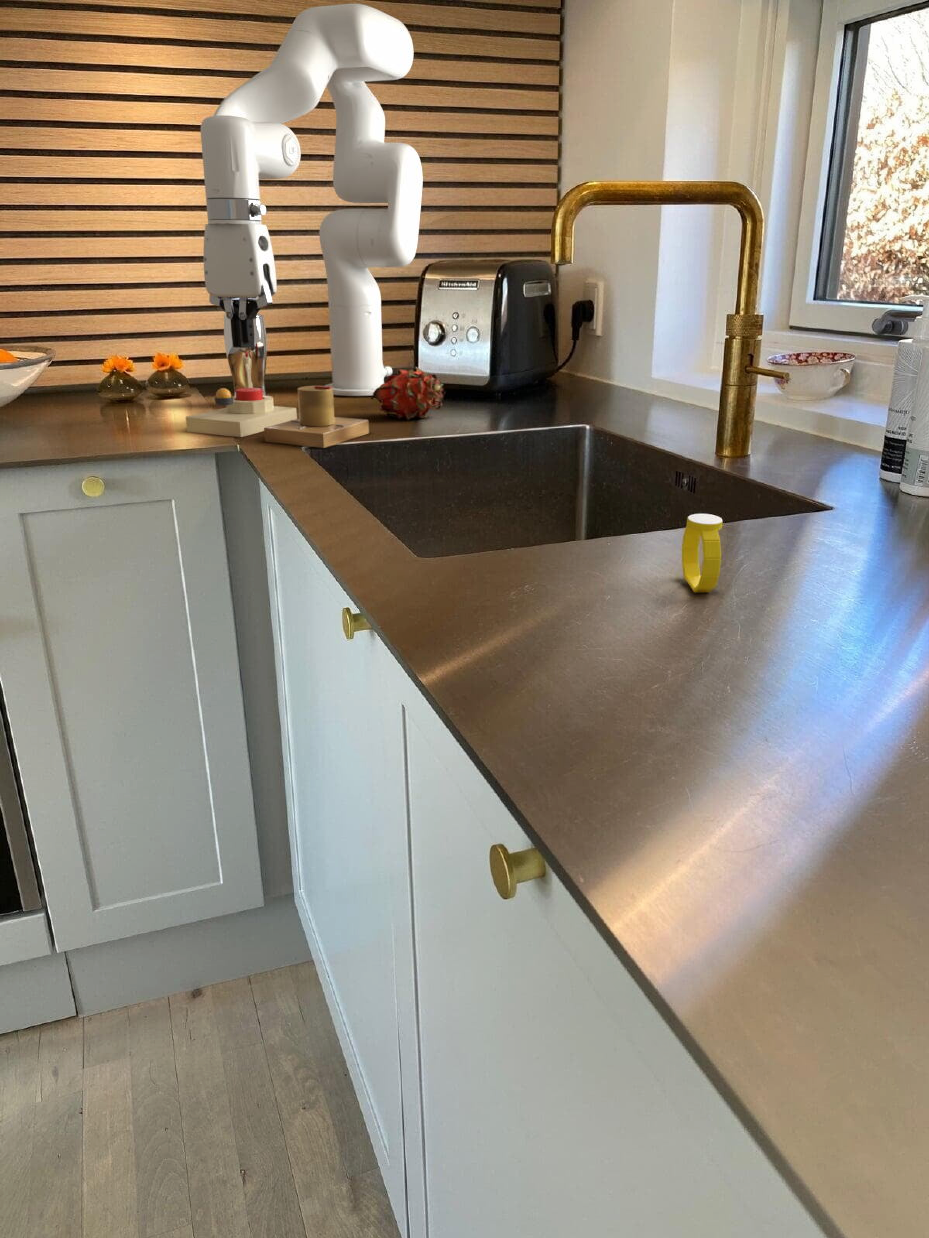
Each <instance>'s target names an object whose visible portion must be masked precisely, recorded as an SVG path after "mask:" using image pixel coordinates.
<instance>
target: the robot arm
mask: <svg viewBox="0 0 929 1238" xmlns="http://www.w3.org/2000/svg"><path fill="white" fill-rule="evenodd" d="M413 43H414V42H413V39H412V36H411V34H410V31H409V30H408V28H407V27H406V25H404V23H403V22H402V21H400V20H399V19H398V18H395V17H394V16H391V15H390V14H387V13H385V12H384V11H382V10H379V9H377V8H375V7H372V6H369V5H366V4H363V3H355V2H354V3H344V4H333V5H322V6H321V5H320V6H313V7H309V8H306V9H304V10H303V11H301V12H299V14H298V15H297V16H296V17H295V19H294V20H293V22H292V24H291V26H290V28H289V30H288V31H287V33H286V35H285V37H284V39H283V41H282V43H281V44H280V46H279V48H278V49H277V52H276V53H275V55H274V57H273V59H272V61H271V62H270V64H269V66H268V67H266V68H265V69H263V70H261V71H260V72H258V73H256V74H255V75H254V76H252V77H251V78H250V79H248V80H247V81H245V82H244V83H243V84H241V85H239V86H238V87H237V88H236V89H234V90H232V92H230V93H229V94H228V95H227V96H226V97H225V98H224V99H223V100H222V101H221V102H220V104H219V105H218V107H217V108H216V110H215V112H214V113H213V115H209V116H207V117H205V118H204V119H203V120H202V121H201V124H200V142H201V151H202V152H201V154H202V166H203V179H204V189H205V200H206V214H207V223H206V224H205V226H204V234H203V235H204V236H203V276H204V285H205V289H206V292H207V293H208V294H209V297H208V298H209V303H210V305H213V306H217V307H220V308H221V309H222V311H223V312H224V313H225V315H226V317H227V318H228V319H230V320H231V333H232V343H233V347H236V348H238V347H239V348H247V347H254V345H255V343H254V338H255V337H254V322H253V319H256V317H257V314H259V312H260V310H262V309H264V308H268V307H270V306H272V305H273V298H272V297H273V296H274V295H276V293H277V291H278V290H277V287H278V285H277V273H276V263H275V256H274V250H273V246H272V245H273V244H272V241H271V236H270V233H269V230H268V227H267V225H266V224H262V216H265V215H266V214H267V207H266V206H265V204H261V193H260V180H279V179H281V180H282V179H284V178H287V177H290V176H291V175H293V174H294V173H295V172H296V170H297V169H298V168H299V166H300V163H301V156H302V150H301V145H300V141H299V139H298V137H297V136H296V134H295V133H294V131H292V130H291V128H289V126H286V125H285V123H288V122H290V121H291V122H292V121H293V120H296V119H298V118H300V117H303V116H305V115H307V114H308V113H310V112H311V111H312V110H314V109H315V108H316V107H317V106H318V104H319V102H320V100H321V98H322V96H323V93H324V92H325V89H326V88H327V91H328V92H329V96H330V97H331V99H332V102H333V106H334V110H335V116H336V119H335V120H336V121H335V139H334V140H335V141H334V156H333V167H332V168H333V169H332V172H333V174H332V185H333V189H334V192H335V195H337V197H338V198H339V199H341V200H342V201H344V202H347V203H353V204H387V208H343V209H337V210H333V211H331V212H330V213H328V214H327V215H326V216H325V217H324V218H323V219H322V221H321V223H320V226H319V231H318V232H319V233H318V234H319V235H318V236H319V243H320V244H319V245H320V248H321V253H322V257H323V262H324V268H325V273H326V274H325V275H326V284H327V296H328V297H327V298H328V299H327V300H328V319H329V321H328V323H329V341H330V359H331V362H330V363H331V379H332V380H331V381H332V382H331V383H327V384H325V385H324V386H329V387H332V388H333V396H339V397H371V396H372V395H373V392H374V391H375V390H376V389H377V388H379V387H380V386H381V385H382V384H384V383H385V378H388V377H389V376H393V369H392V367H391V366H389V365H386V366H384V362H383V332H382V331H383V330H382V329H383V328H382V295H381V290H380V288H379V287H380V286H379V285H378V282H377V281H376V280H375V278H374V276H373V275H372V272H371V271H370V270H369V268H402V267H407V266H409V265H410V264H411V263H412V262H413V261H414V258H415V256H416V253H417V250H418V241H419V234H420V233H419V232H420V221H421V220H420V219H421V210H422V208H421V207H422V198H423V197H422V196H423V182H424V180H423V178H424V176H423V175H424V174H423V167H422V162H421V159H420V156H419V154H418V152H417V150H416V149H415V148H414V147H413V146H412V145H410V144H409V143H405V142H385V137H386V136H385V135H386V134H385V133H386V116H385V112H384V110H383V107H382V106H381V103H380V102H379V100H378V99H377V98H376V96H375V95H374V94H373V92H372V90H371V89H370V88H369V86H368V85H367V84H366V82H382V81H395V80H399V79H402V78H404V77H405V76H407V74H409V72H410V70H411V68H412V65H413V63H414V62H413V61H414V55H415V54H414V44H413Z"/></svg>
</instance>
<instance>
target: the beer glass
mask: <svg viewBox="0 0 929 1238" xmlns="http://www.w3.org/2000/svg"><path fill="white" fill-rule="evenodd" d="M253 322H254V337H255V338H254V343H255V345H254V347H247V348H239V347H238V348H236V347H233V343H232V333H231V320H230V319H228V318H227V317H226V314H224V315H223V339H224V341H223V342H224V347H225V348H224V349H225V353H226V354H225V355H226V359H227V363H228V367H229V370H230V374H231V377H232V384H233V397H234V396H236V389H240V388H261V389H262V392H263V395H264V396H268V394H267V390H266V370H267V360H268V359H267V358H268V338H267V337H268V336H267V329H266V322H265V315H264V313H257V317H256V319H253Z"/></svg>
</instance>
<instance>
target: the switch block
mask: <svg viewBox="0 0 929 1238" xmlns="http://www.w3.org/2000/svg"><path fill="white" fill-rule="evenodd" d="M232 397H233V404H232V405H226V407H223V408H219V409H214V410H210V411H209V410H208V411H206V412H205V411H204V412H202V413H197V414H192V415H188V416H185V423H186V431H187V432H189V433H190V432H191V433H198V434H207V435H216V436H225V437H233V438H234V437H235V438H243V437H247V436H251V435H254V434H258V433H262V432H264V428H265V427H269V426H273V425H276V424H280V423H284V422H288V421H290V420H295V419H298V413H297V407H292V406H291V407H289V406H278V405H274V404H275V403H274V397H273V396H270V395H267V396H264V395H263V399H262V400H255V401H239V400H236V396H234V395H233V396H232Z"/></svg>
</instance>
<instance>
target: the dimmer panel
mask: <svg viewBox="0 0 929 1238" xmlns="http://www.w3.org/2000/svg"><path fill="white" fill-rule="evenodd" d="M334 417H335V423H334V424H332V425H328V426H304V425H301V424H300V418H297V419H295V420H290V421H288V422H284V423H280V424H276V425H273V426H269V427H265V428H264V431H263V432H264V434H263V435H264V442H266V443H273V444H274V443H275V444H283V445H290V446H291V445H292V446H293V445H294V446H300V447H301V446H303V447H311V448H319V449H325V448H329V447H331V446H335V445H338V444H340V443H344V442H347V441H349V440H353V439H356V438H359V437H362V436H365V435H368V434H369V433H370V425H369V423H370V422H369V420H368V419H362V418H349V417H342V416H341V417H340V416H334Z"/></svg>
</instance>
